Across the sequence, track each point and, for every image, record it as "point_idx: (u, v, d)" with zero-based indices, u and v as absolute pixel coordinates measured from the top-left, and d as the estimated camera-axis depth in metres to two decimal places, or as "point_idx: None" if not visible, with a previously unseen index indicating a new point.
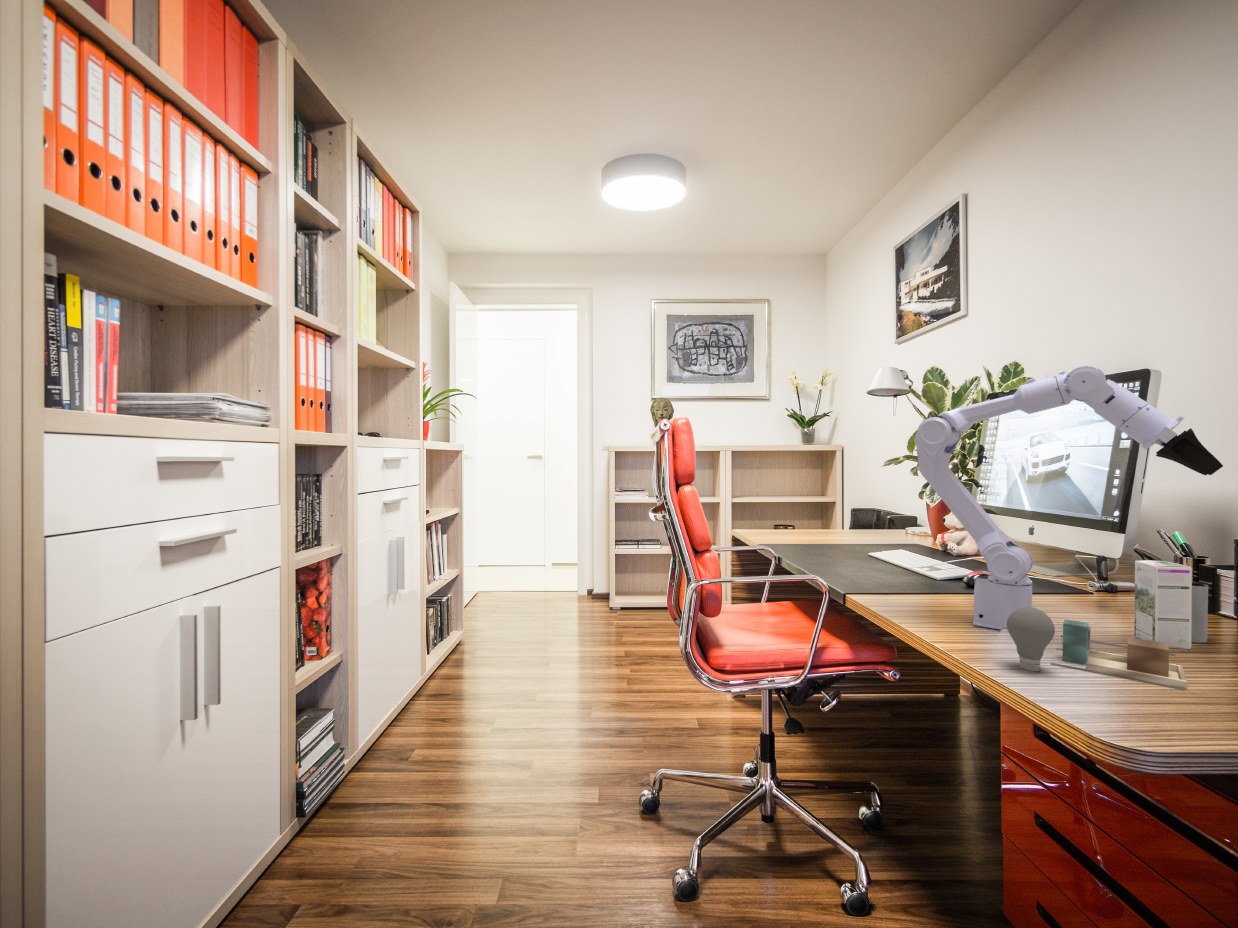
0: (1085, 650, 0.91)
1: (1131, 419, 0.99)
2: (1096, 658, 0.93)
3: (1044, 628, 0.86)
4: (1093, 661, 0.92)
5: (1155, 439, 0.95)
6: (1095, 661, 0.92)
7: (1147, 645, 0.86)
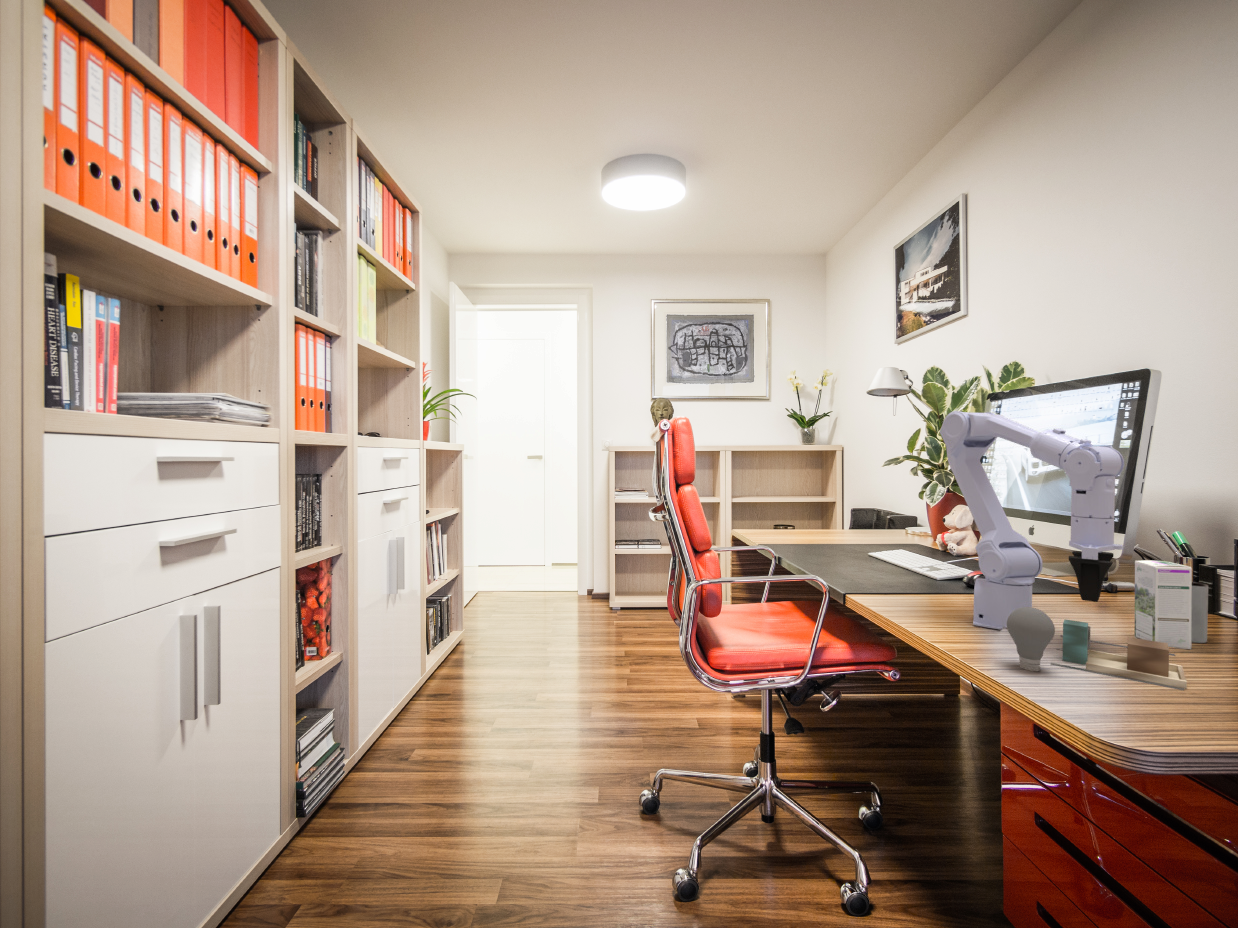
0: (1085, 650, 0.91)
1: (1086, 519, 0.97)
2: (1096, 658, 0.93)
3: (1044, 628, 0.86)
4: (1093, 661, 0.92)
5: (1080, 548, 0.95)
6: (1095, 661, 0.92)
7: (1147, 645, 0.86)
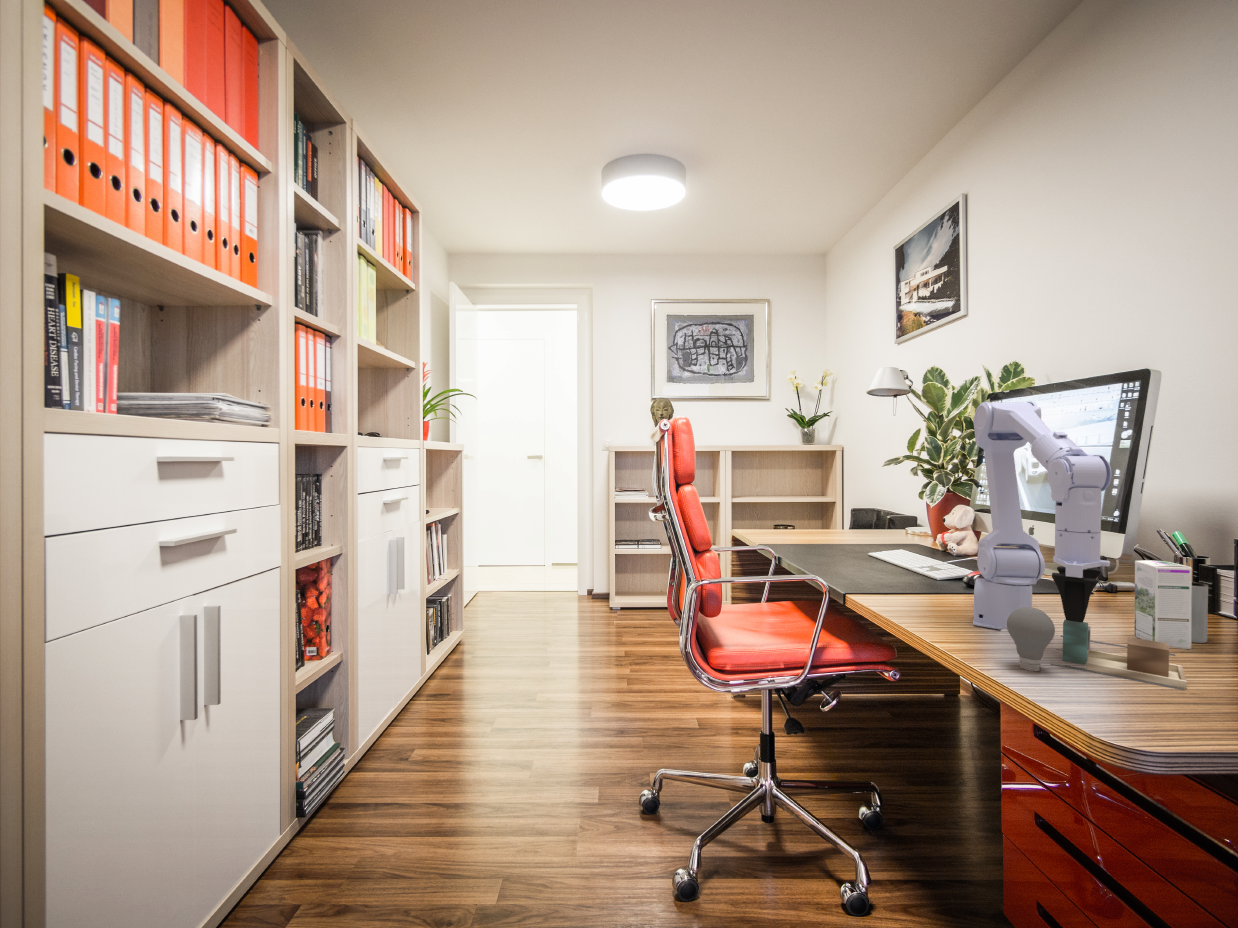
0: (1085, 650, 0.91)
1: (1070, 533, 0.91)
2: (1096, 658, 0.93)
3: (1044, 628, 0.86)
4: (1093, 661, 0.92)
5: (1064, 565, 0.89)
6: (1095, 661, 0.92)
7: (1147, 645, 0.86)
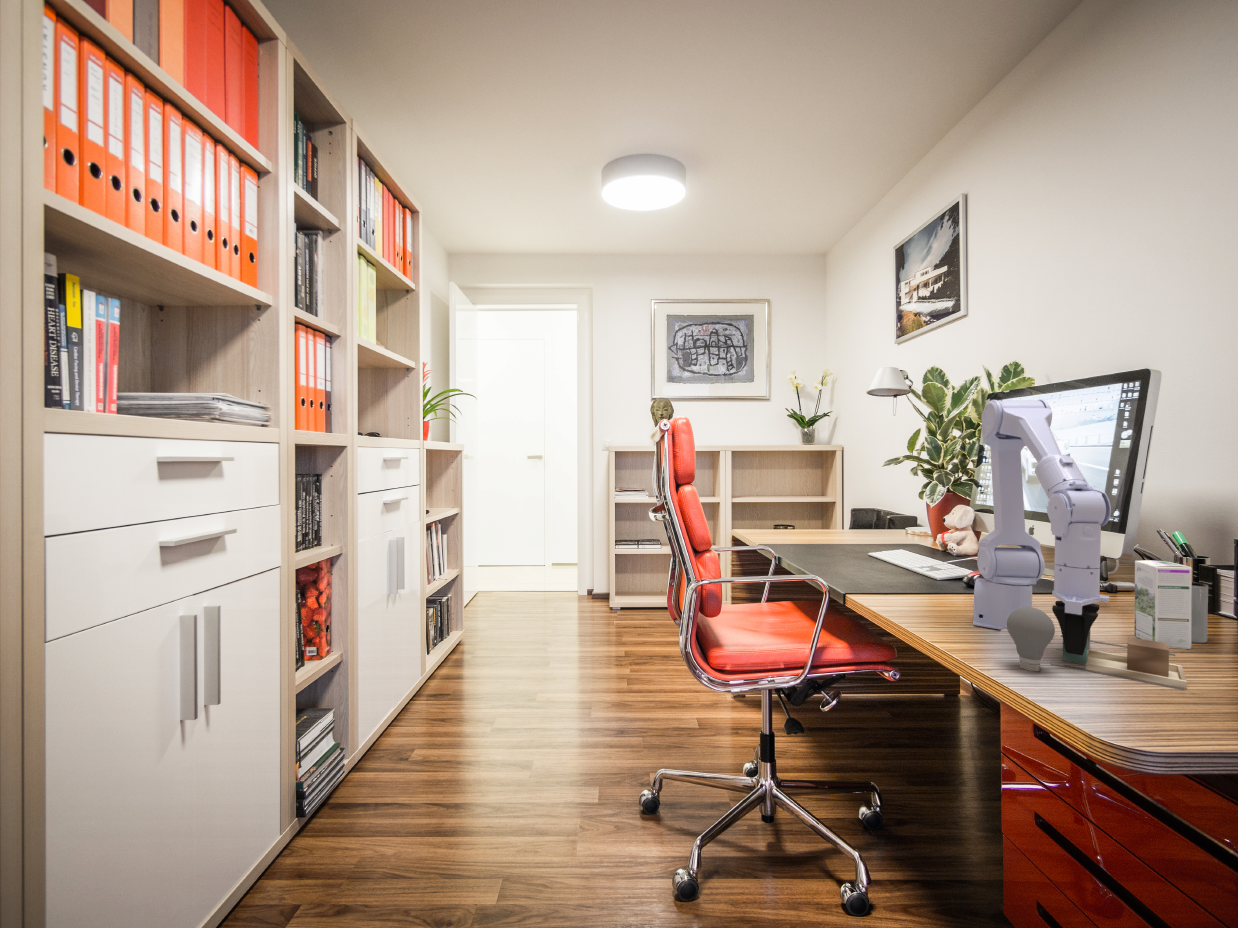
0: (1085, 650, 0.91)
1: (1069, 569, 0.91)
2: (1096, 658, 0.93)
3: (1044, 628, 0.86)
4: (1093, 661, 0.92)
5: (1063, 600, 0.89)
6: (1095, 661, 0.92)
7: (1147, 645, 0.86)
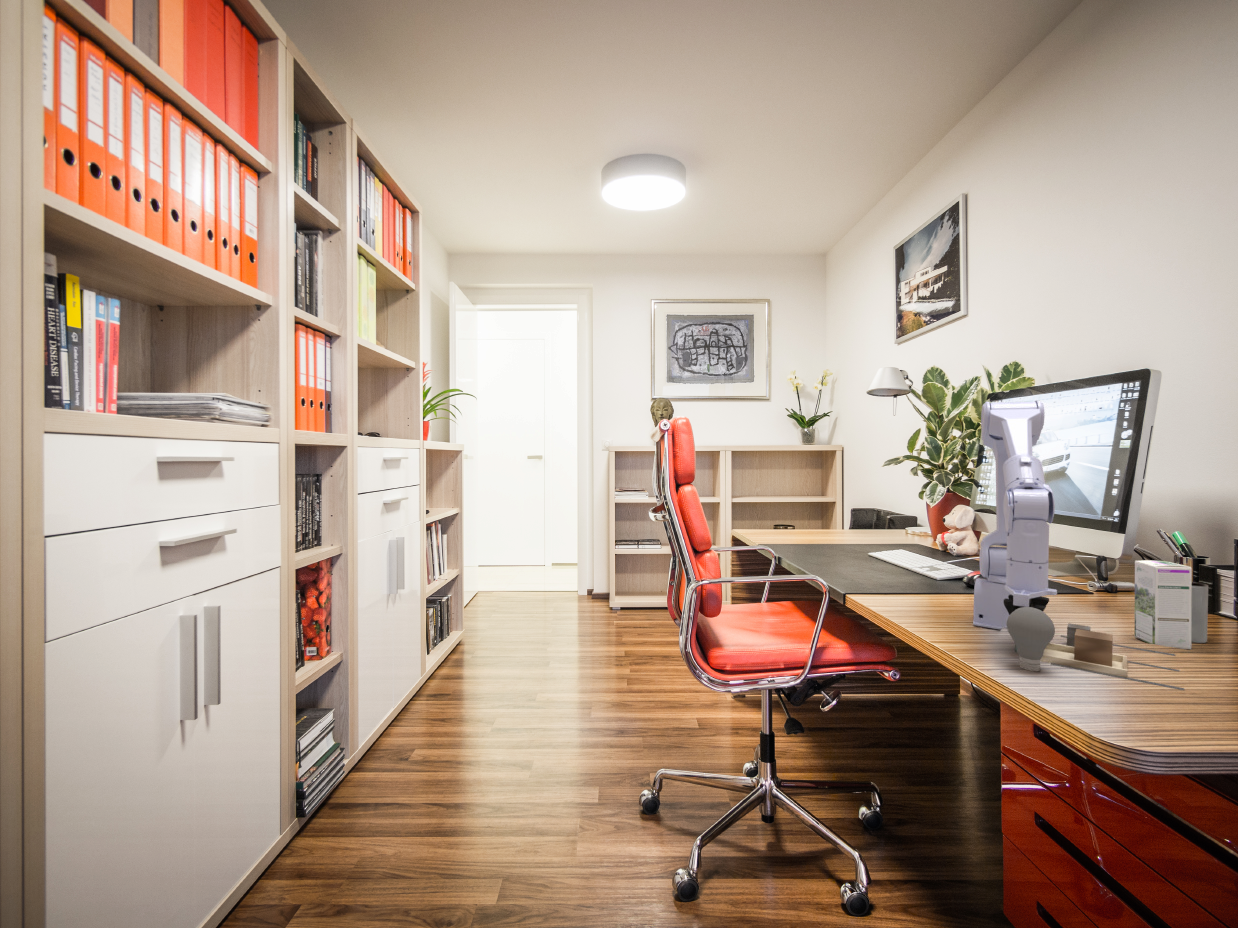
0: None
1: (1019, 563, 0.95)
2: (1048, 649, 0.98)
3: (1044, 628, 0.86)
4: (1044, 652, 0.96)
5: (1012, 594, 0.94)
6: (1046, 652, 0.96)
7: (1093, 636, 0.90)
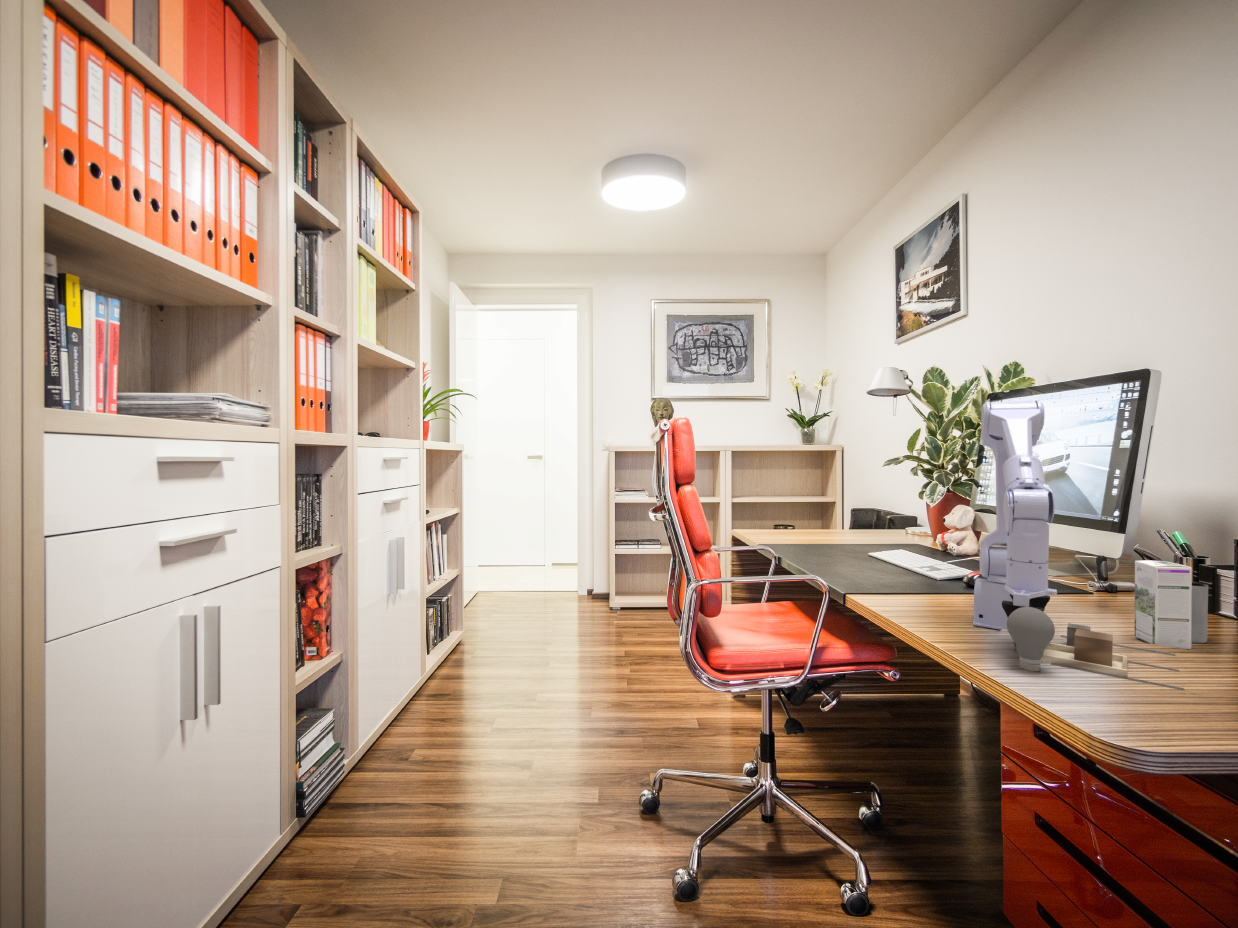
0: None
1: (1019, 563, 0.95)
2: (1048, 649, 0.98)
3: (1044, 628, 0.86)
4: (1044, 652, 0.96)
5: (1012, 594, 0.94)
6: (1046, 652, 0.96)
7: (1093, 636, 0.90)
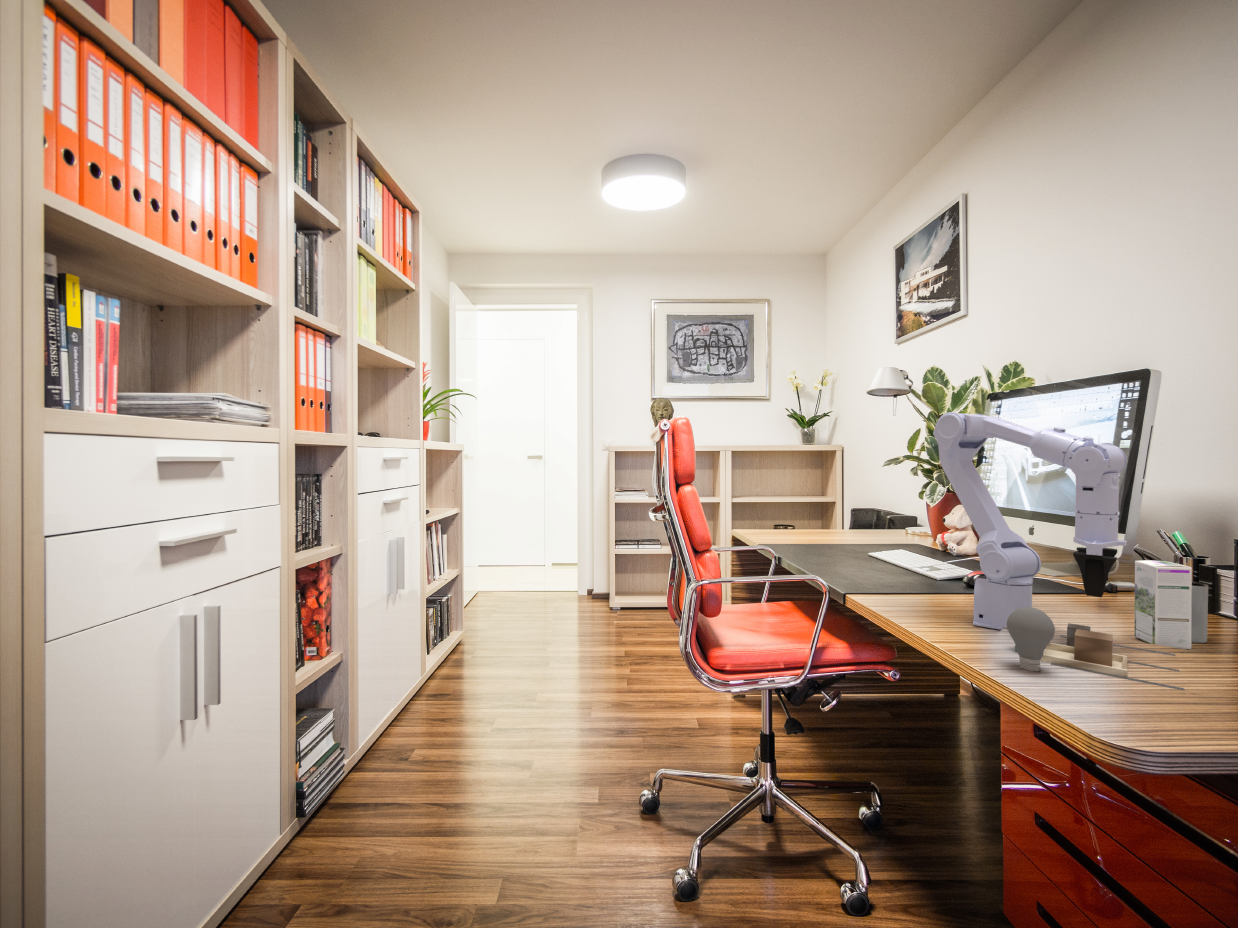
0: None
1: (1090, 515, 0.98)
2: (1048, 649, 0.98)
3: (1044, 628, 0.86)
4: (1044, 652, 0.96)
5: (1084, 544, 0.97)
6: (1046, 652, 0.96)
7: (1093, 636, 0.90)
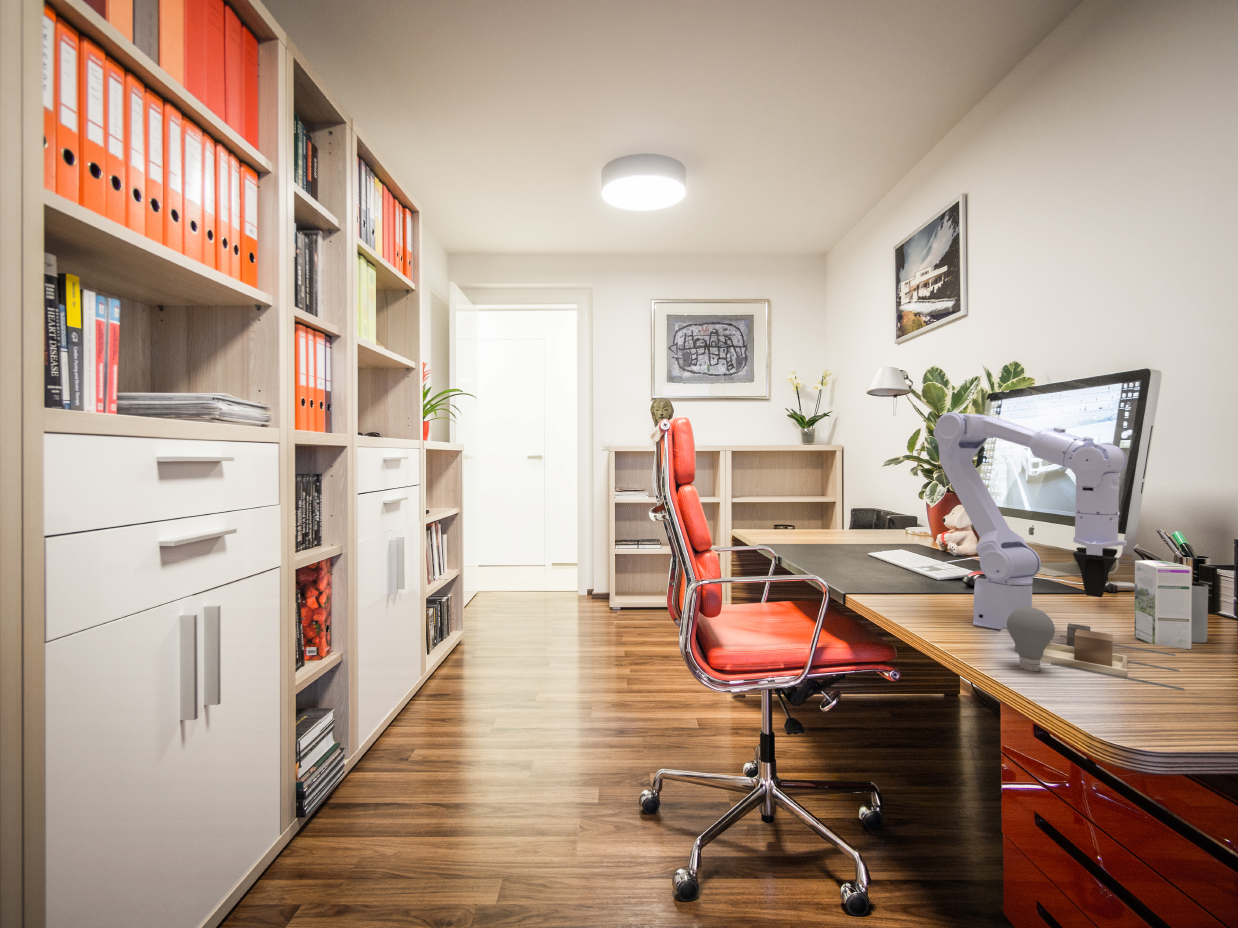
0: None
1: (1090, 515, 0.98)
2: (1048, 649, 0.98)
3: (1044, 628, 0.86)
4: (1044, 652, 0.96)
5: (1084, 544, 0.97)
6: (1046, 652, 0.96)
7: (1093, 636, 0.90)
